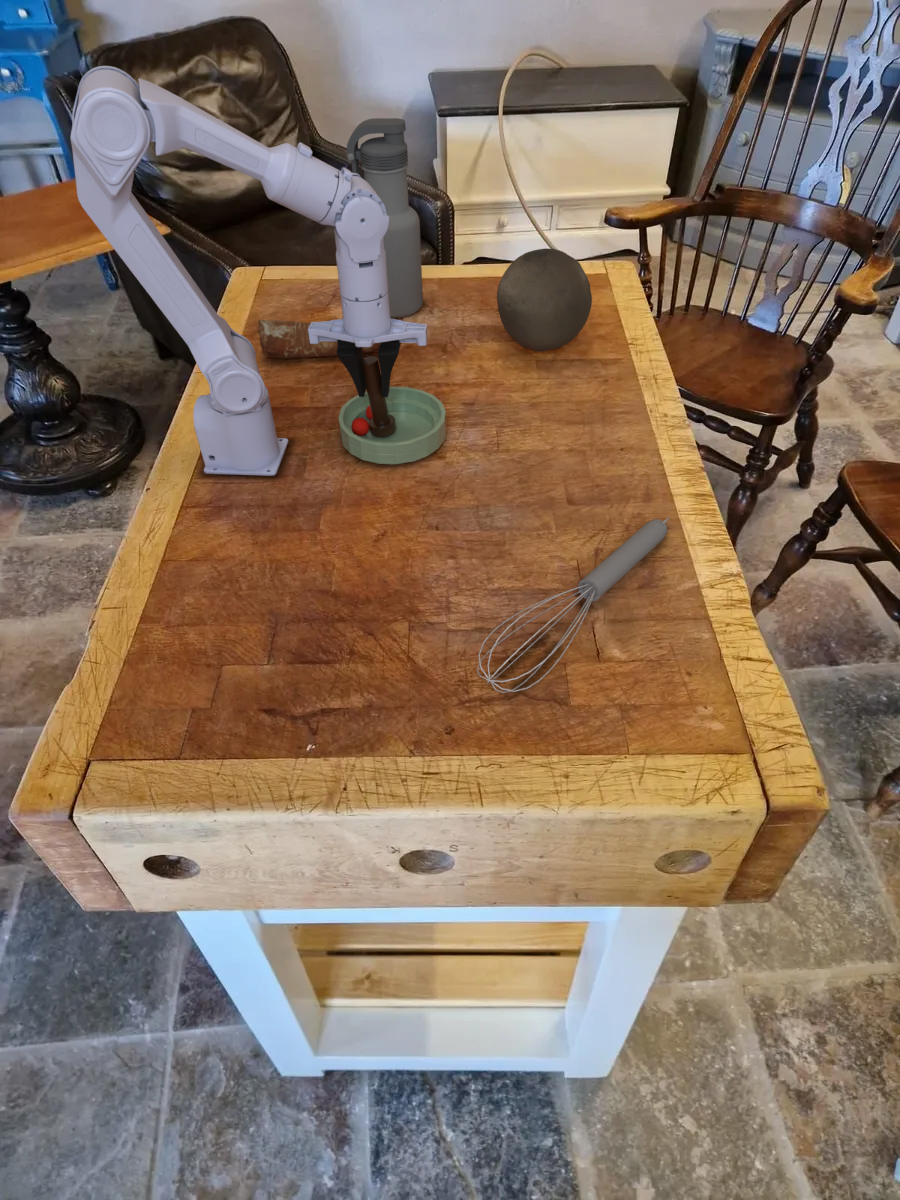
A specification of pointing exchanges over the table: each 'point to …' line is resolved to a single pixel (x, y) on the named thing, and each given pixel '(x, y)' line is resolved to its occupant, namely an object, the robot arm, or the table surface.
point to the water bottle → (392, 208)
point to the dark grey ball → (544, 299)
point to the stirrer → (377, 399)
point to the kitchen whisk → (590, 589)
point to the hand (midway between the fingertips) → (374, 393)
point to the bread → (295, 341)
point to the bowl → (415, 424)
